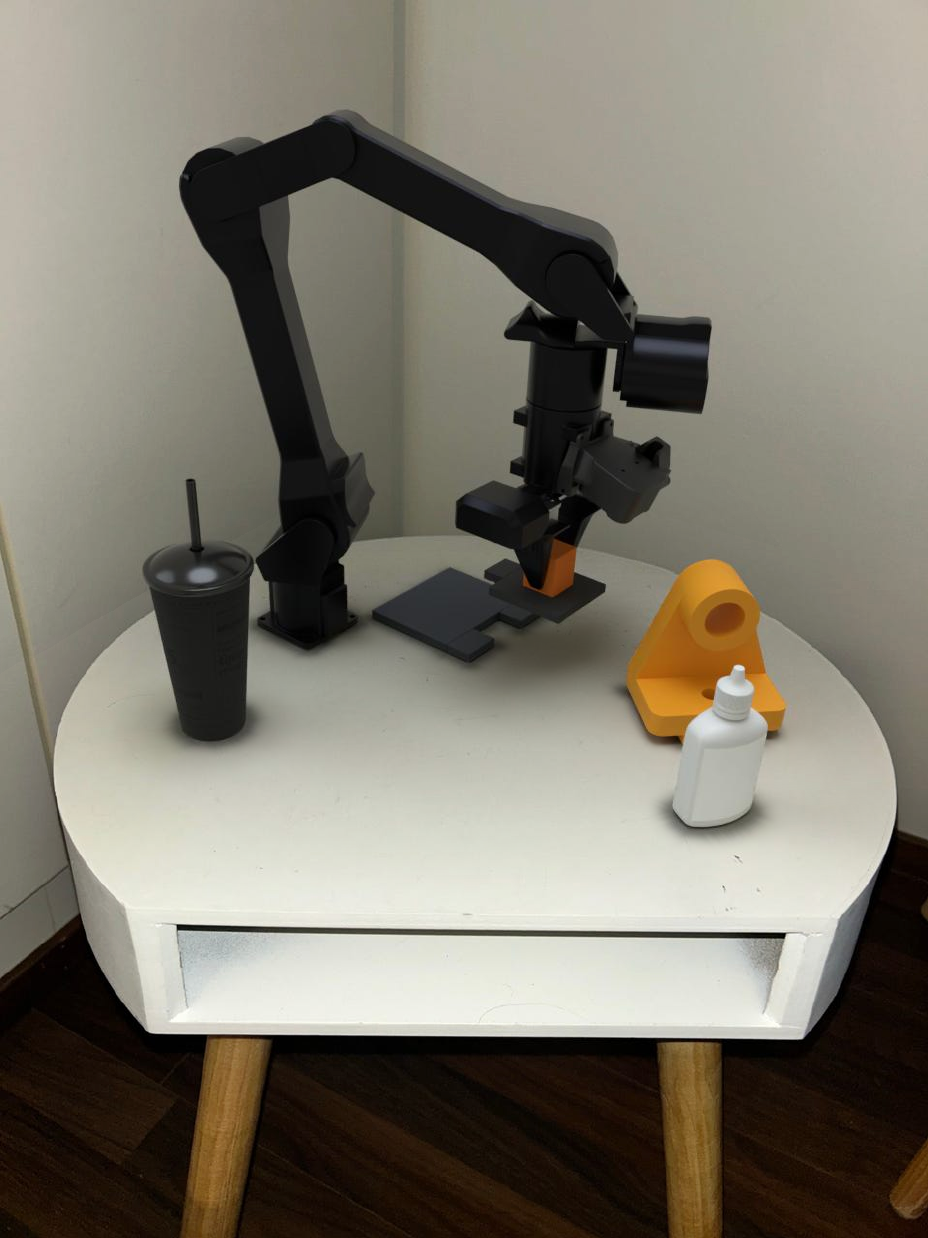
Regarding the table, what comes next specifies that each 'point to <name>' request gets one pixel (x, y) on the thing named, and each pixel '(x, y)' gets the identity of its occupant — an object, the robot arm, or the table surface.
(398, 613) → the charcoal pad
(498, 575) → the black pad
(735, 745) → the eye dropper bottle
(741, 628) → the bracket
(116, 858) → the table surface
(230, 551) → the drinking cup
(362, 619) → the table surface
